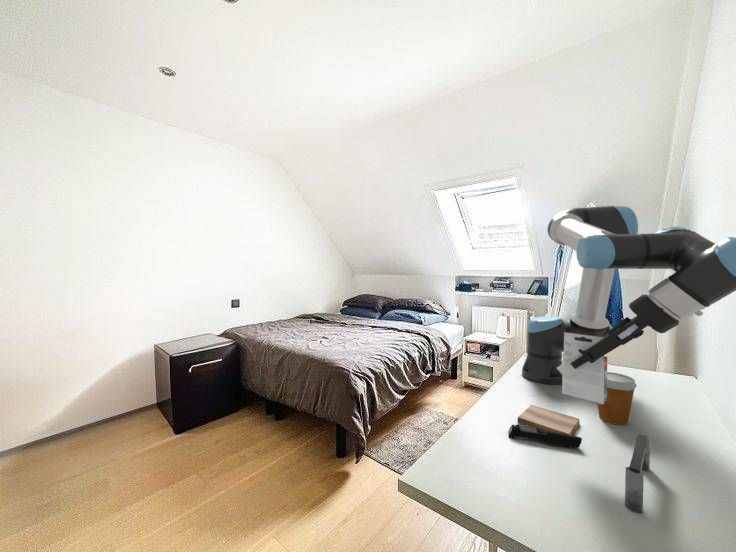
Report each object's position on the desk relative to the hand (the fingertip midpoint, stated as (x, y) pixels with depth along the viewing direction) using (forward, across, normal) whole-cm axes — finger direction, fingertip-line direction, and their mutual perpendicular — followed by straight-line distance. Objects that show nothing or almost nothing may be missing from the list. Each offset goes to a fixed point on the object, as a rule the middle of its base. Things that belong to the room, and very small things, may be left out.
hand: (564, 370), depth 73 cm
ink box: (+1, 0, -7) cm, 7 cm away
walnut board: (+17, +9, -9) cm, 21 cm away
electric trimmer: (+16, -1, -10) cm, 19 cm away
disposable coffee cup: (+8, +25, -18) cm, 32 cm away
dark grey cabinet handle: (+3, -5, -22) cm, 23 cm away
